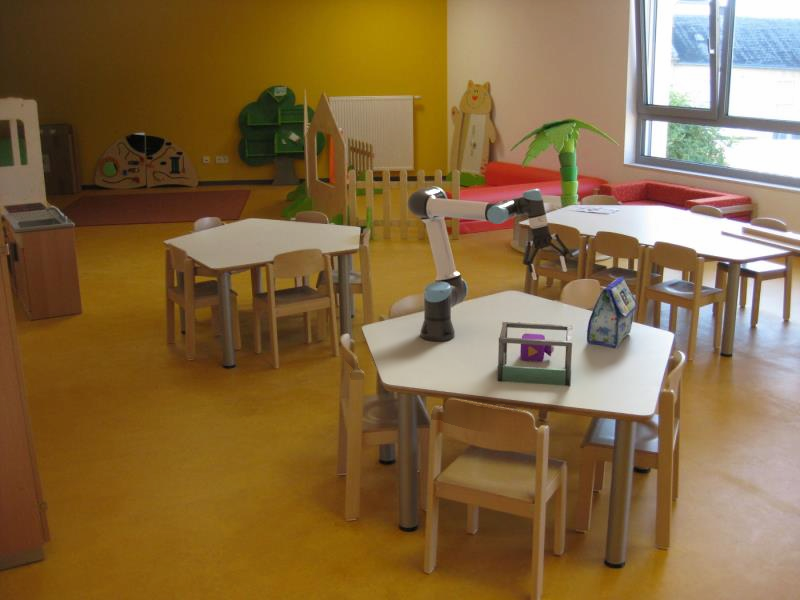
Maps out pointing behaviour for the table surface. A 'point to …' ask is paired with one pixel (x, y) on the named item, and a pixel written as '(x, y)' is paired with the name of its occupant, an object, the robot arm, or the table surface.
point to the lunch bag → (612, 315)
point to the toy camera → (534, 349)
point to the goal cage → (530, 372)
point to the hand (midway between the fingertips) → (549, 275)
